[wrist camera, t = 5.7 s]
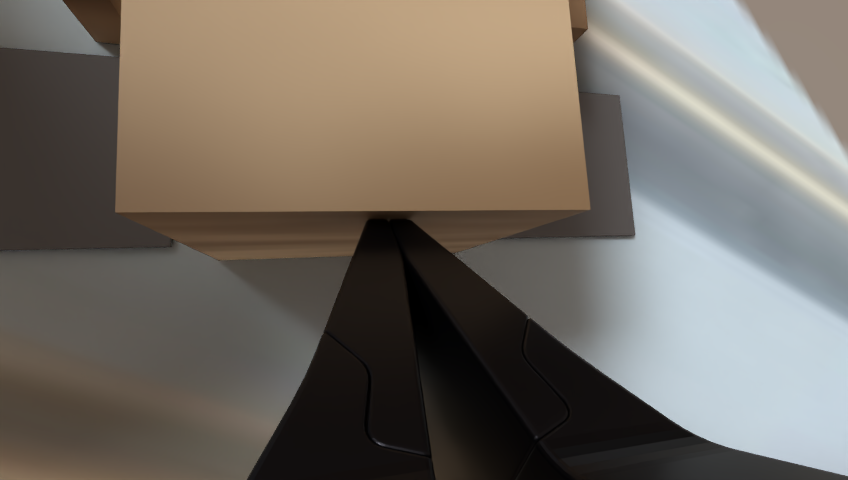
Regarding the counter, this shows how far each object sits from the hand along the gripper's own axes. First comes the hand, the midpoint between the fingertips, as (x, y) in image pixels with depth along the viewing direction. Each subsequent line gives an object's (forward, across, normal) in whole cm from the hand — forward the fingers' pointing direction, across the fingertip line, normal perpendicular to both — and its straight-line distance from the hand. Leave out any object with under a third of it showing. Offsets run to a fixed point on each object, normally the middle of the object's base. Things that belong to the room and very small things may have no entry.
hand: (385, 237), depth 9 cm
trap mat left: (+7, +8, +2) cm, 11 cm away
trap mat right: (+7, -8, +2) cm, 11 cm away
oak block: (+10, 0, 0) cm, 10 cm away
